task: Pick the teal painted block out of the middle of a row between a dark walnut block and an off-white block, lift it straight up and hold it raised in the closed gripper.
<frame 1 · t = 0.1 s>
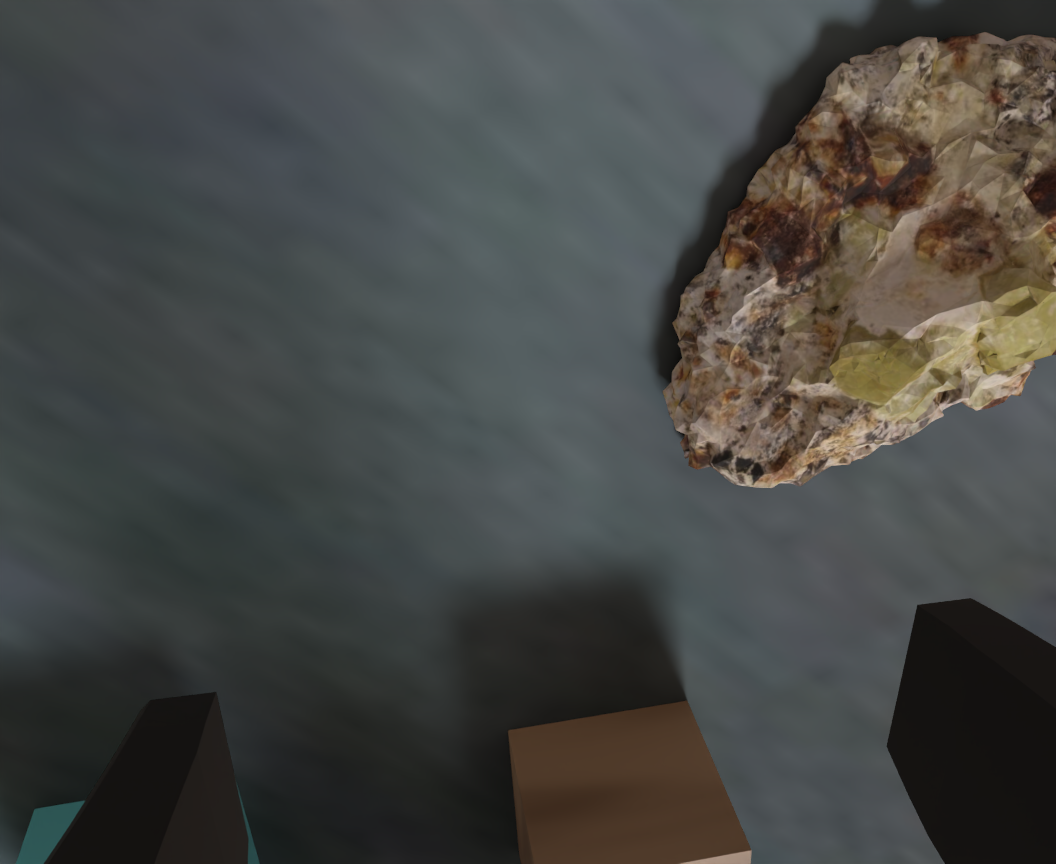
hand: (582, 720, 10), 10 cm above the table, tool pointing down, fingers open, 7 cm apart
teal block: (159, 853, 24), on the table
walnut block: (599, 777, 25), on the table
mineral rock: (867, 260, 20), on the table
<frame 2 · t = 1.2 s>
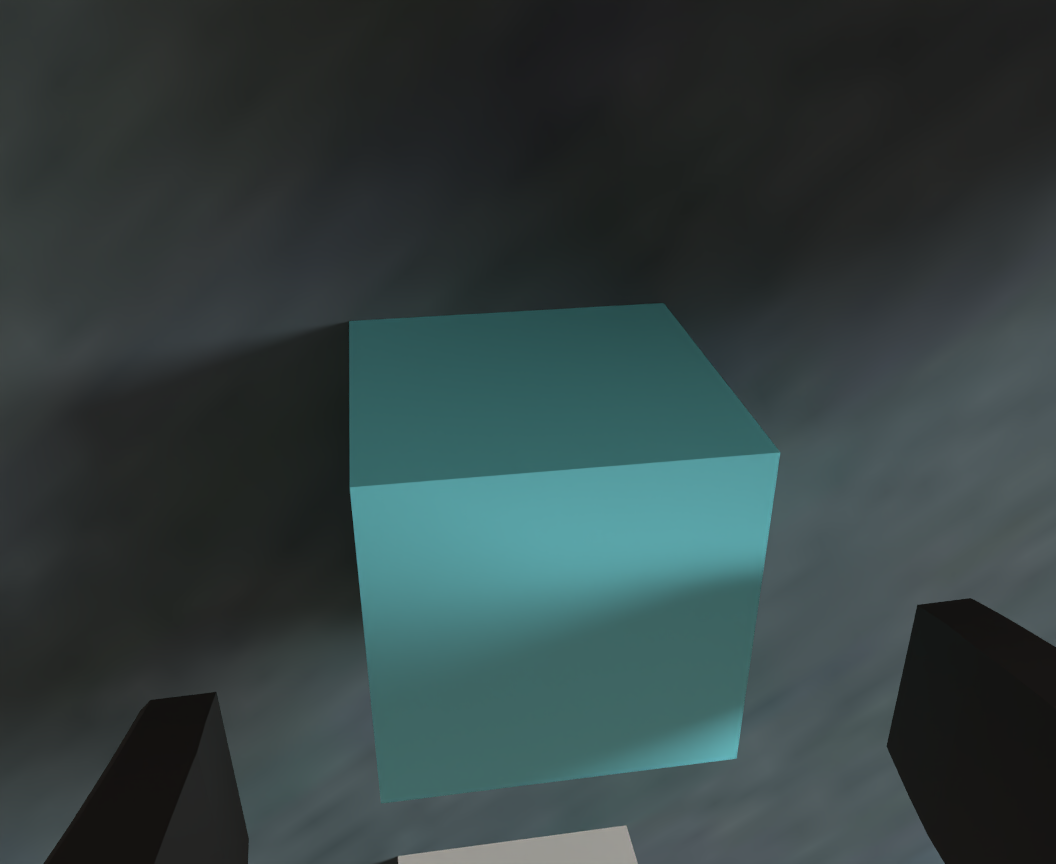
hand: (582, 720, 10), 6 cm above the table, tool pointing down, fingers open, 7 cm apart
teal block: (510, 447, 15), on the table
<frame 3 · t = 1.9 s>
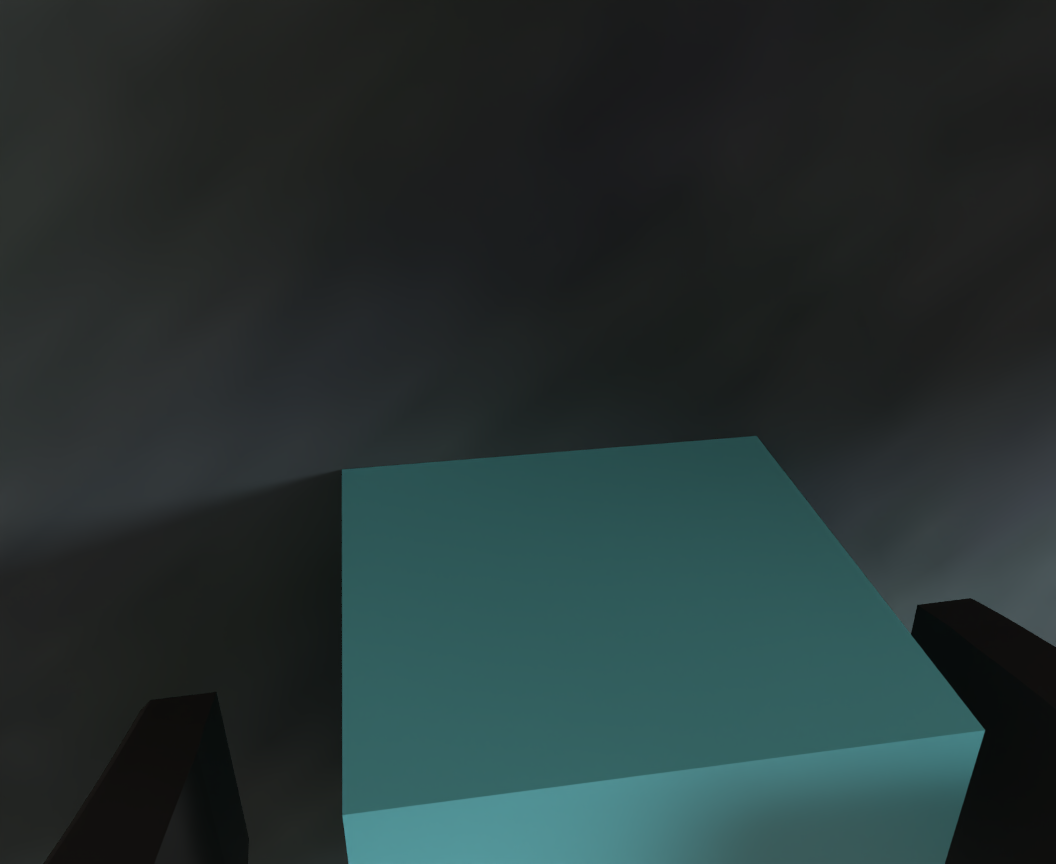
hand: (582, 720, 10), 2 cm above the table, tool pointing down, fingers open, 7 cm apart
teal block: (551, 614, 12), on the table
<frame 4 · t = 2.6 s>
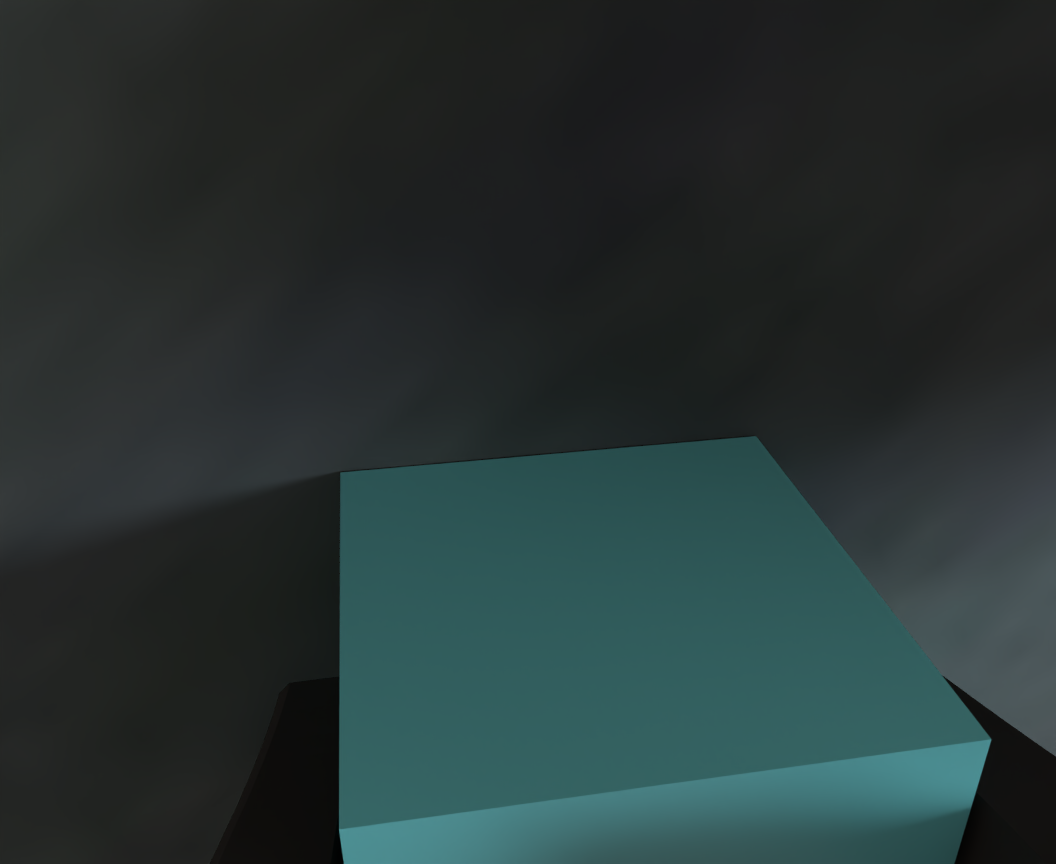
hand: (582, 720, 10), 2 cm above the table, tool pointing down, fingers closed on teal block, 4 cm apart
teal block: (553, 620, 12), on the table, touching gripper
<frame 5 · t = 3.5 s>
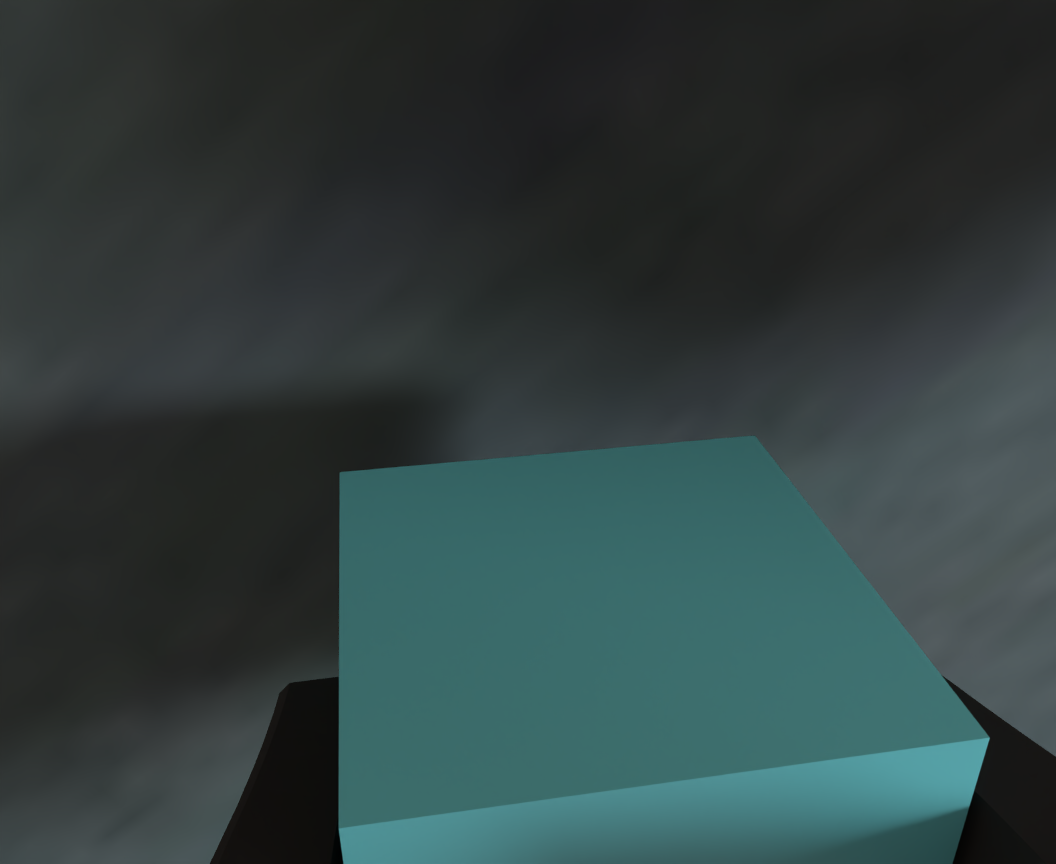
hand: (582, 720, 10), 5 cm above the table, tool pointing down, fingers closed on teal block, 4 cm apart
teal block: (552, 619, 12), point 3 cm above the table, touching gripper
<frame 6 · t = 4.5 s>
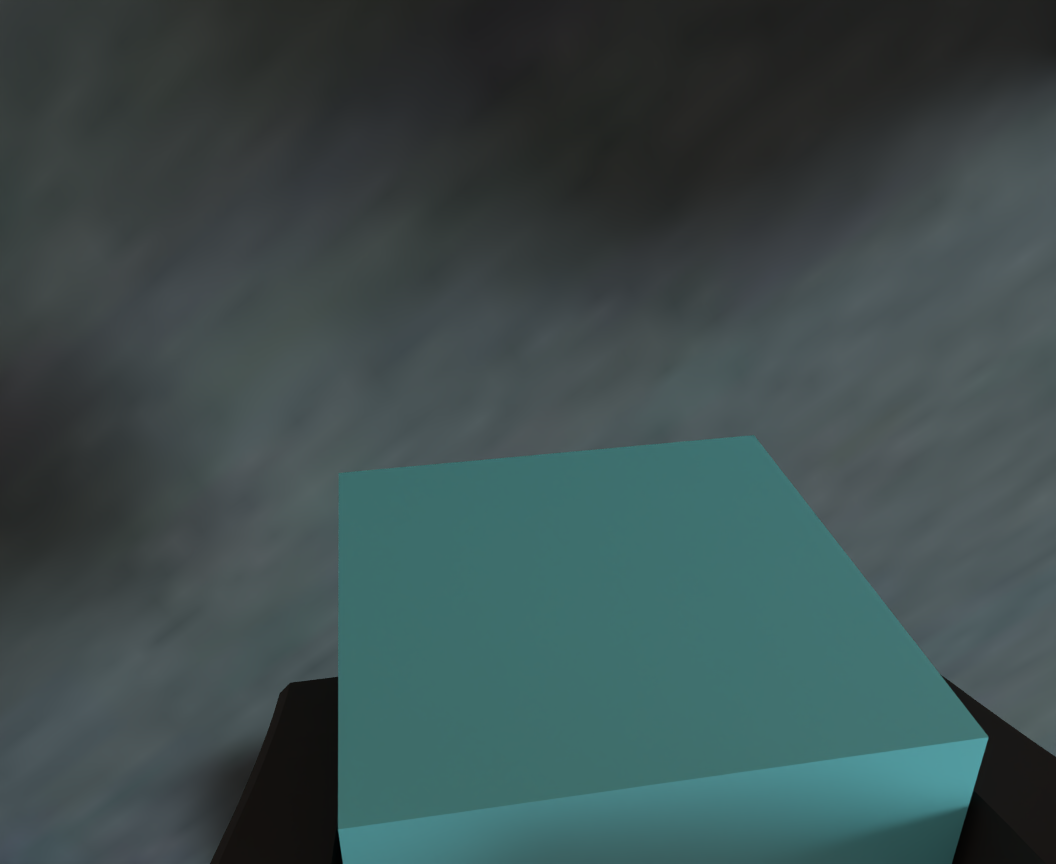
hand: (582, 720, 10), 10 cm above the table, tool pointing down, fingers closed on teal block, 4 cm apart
teal block: (552, 620, 12), point 8 cm above the table, touching gripper
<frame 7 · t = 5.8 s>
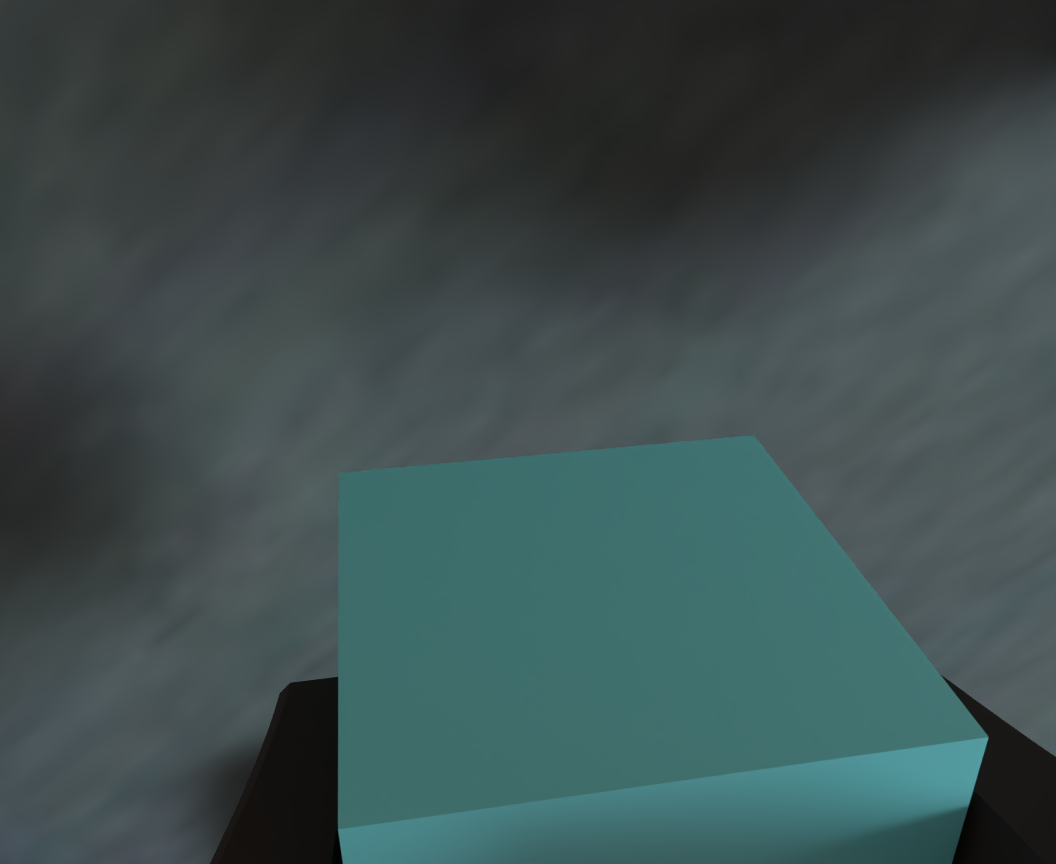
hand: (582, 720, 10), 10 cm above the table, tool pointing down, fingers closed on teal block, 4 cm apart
teal block: (552, 620, 12), point 8 cm above the table, touching gripper
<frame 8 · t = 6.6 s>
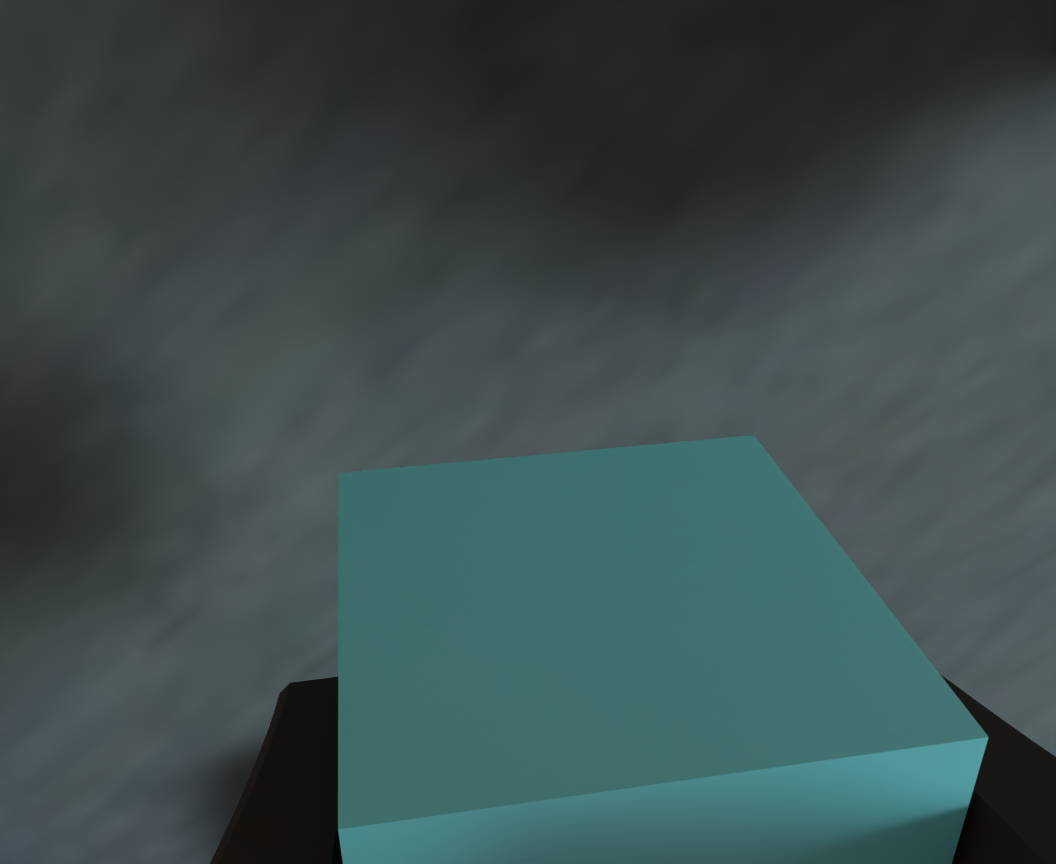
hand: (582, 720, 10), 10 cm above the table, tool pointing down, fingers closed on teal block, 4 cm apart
teal block: (552, 620, 12), point 8 cm above the table, touching gripper
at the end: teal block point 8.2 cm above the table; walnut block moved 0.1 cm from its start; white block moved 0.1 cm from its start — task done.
